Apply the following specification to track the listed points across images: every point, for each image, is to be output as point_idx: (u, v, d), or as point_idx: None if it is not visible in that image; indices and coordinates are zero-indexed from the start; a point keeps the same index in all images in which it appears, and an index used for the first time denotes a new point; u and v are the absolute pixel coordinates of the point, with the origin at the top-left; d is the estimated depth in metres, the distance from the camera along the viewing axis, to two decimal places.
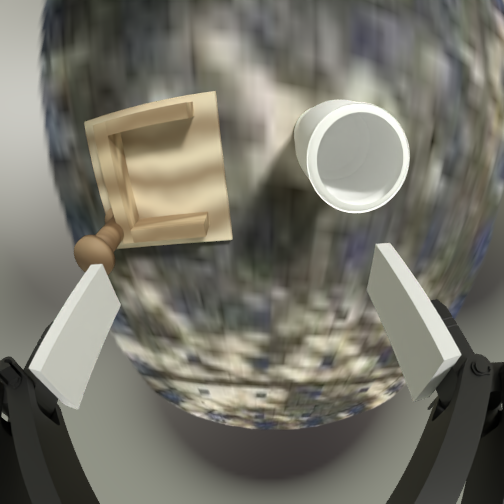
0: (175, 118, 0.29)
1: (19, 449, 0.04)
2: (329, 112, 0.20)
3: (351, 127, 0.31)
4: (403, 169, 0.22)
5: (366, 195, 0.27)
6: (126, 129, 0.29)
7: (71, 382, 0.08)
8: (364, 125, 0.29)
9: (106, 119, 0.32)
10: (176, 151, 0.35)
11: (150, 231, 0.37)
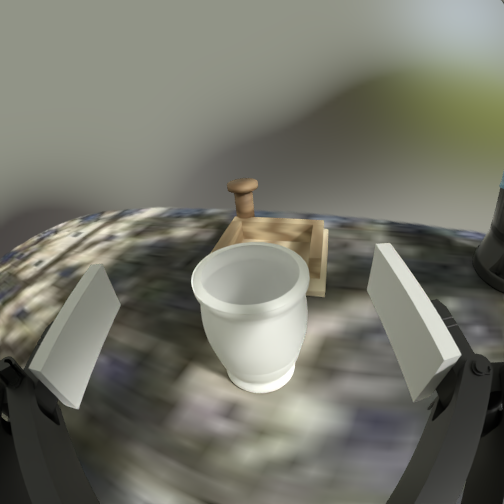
0: (310, 252, 0.43)
1: (19, 449, 0.04)
2: (300, 258, 0.26)
3: None
4: (224, 305, 0.21)
5: None
6: (313, 232, 0.49)
7: (71, 382, 0.08)
8: None
9: (324, 238, 0.54)
10: None
11: (235, 228, 0.52)
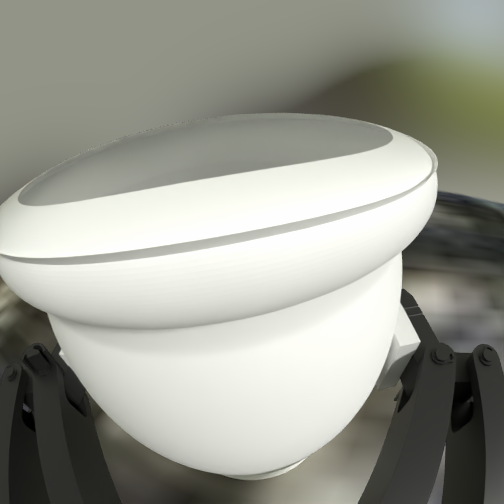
0: None
1: (41, 440, 0.05)
2: (361, 129, 0.08)
3: None
4: (14, 217, 0.03)
5: None
6: None
7: None
8: None
9: None
10: None
11: None
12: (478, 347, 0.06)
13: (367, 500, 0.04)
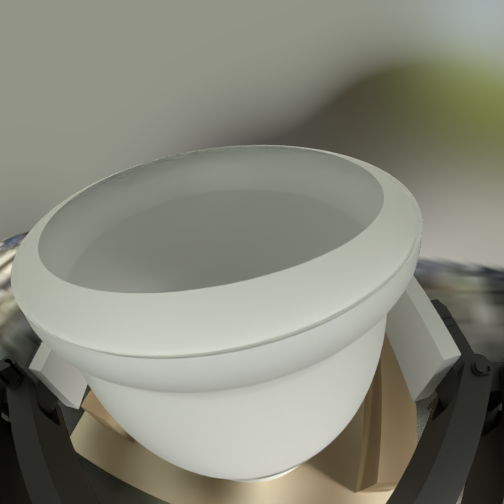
0: (384, 455, 0.09)
1: (19, 449, 0.04)
2: (358, 166, 0.08)
3: None
4: (44, 287, 0.03)
5: None
6: (382, 350, 0.14)
7: (71, 382, 0.08)
8: None
9: None
10: None
11: None
12: None
13: None
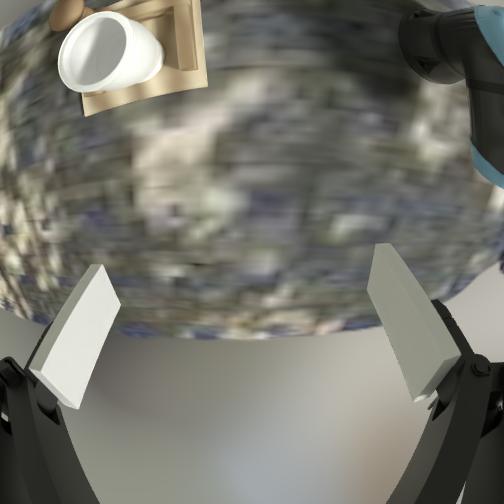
0: (179, 60, 0.30)
1: (19, 449, 0.04)
2: (124, 16, 0.18)
3: None
4: (89, 87, 0.22)
5: (75, 77, 0.23)
6: (175, 21, 0.26)
7: (71, 382, 0.08)
8: (142, 77, 0.30)
9: None
10: None
11: None
12: None
13: None
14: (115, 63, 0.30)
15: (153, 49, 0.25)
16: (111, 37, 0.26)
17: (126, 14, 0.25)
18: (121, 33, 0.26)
